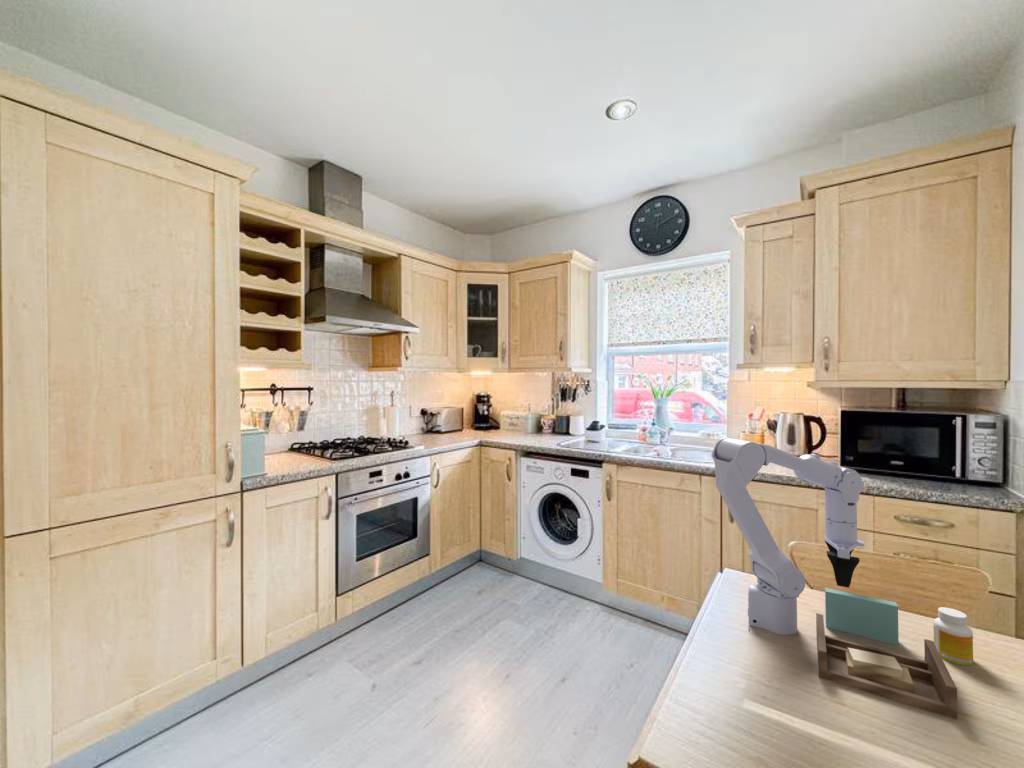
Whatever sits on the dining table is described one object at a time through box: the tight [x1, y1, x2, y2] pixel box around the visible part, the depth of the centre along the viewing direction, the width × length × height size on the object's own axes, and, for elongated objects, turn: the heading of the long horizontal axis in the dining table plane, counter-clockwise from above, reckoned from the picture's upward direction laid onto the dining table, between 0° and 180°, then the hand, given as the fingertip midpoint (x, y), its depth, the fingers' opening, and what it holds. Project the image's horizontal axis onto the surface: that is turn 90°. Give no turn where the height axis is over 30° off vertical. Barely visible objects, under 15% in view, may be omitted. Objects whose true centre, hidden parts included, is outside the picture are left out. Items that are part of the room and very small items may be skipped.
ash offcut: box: [848, 648, 903, 679], centre depth 79 cm, size 7×4×2 cm, turn 64°
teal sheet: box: [824, 587, 900, 646], centre depth 91 cm, size 12×2×9 cm, turn 56°
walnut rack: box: [815, 613, 958, 721], centre depth 79 cm, size 18×15×6 cm
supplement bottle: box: [933, 606, 974, 667], centre depth 83 cm, size 5×5×10 cm
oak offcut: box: [846, 652, 914, 693], centre depth 78 cm, size 9×5×2 cm, turn 56°
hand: (841, 579), depth 96 cm, fingers open, 7 cm apart
